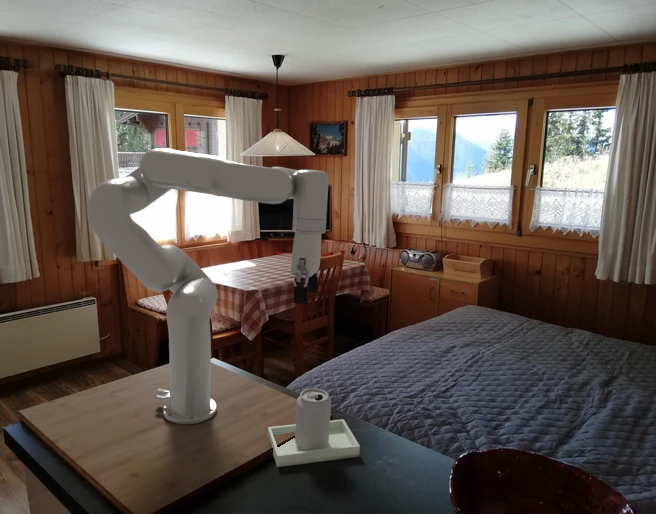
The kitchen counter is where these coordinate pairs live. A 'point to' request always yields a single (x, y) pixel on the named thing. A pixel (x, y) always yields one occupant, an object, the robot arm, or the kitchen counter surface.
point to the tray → (337, 448)
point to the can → (312, 419)
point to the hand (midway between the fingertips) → (305, 297)
